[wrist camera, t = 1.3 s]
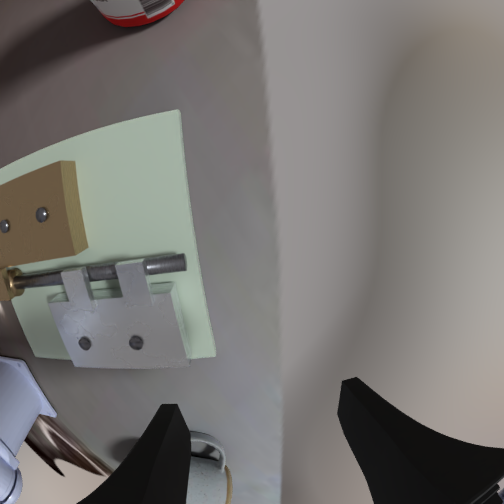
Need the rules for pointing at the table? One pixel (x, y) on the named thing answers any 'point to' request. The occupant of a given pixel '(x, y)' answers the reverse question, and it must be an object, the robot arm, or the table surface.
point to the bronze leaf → (51, 230)
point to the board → (122, 220)
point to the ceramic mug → (209, 476)
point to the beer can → (135, 10)
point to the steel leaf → (121, 321)
